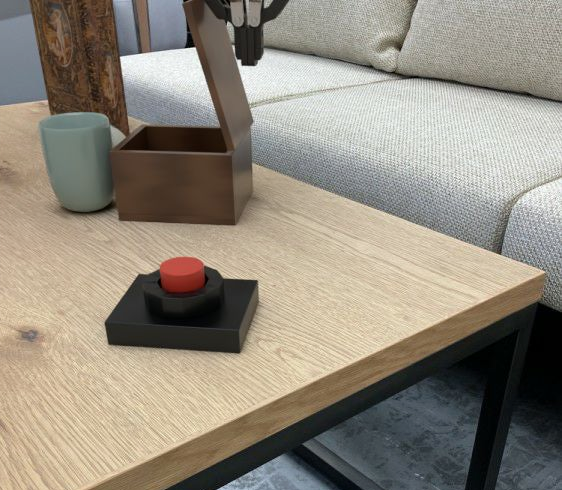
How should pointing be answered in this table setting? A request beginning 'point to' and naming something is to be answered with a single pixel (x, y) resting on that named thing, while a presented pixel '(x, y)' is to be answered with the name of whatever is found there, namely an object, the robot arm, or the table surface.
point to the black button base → (184, 314)
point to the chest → (181, 175)
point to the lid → (220, 71)
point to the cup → (78, 159)
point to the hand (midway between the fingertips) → (249, 64)
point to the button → (182, 274)
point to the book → (81, 58)
